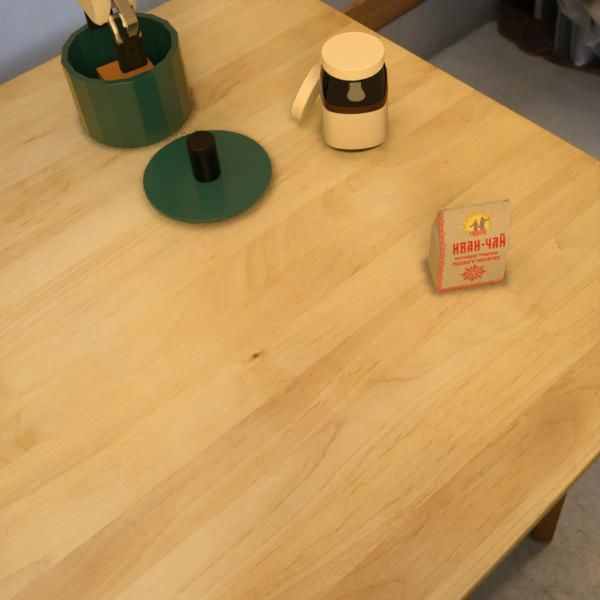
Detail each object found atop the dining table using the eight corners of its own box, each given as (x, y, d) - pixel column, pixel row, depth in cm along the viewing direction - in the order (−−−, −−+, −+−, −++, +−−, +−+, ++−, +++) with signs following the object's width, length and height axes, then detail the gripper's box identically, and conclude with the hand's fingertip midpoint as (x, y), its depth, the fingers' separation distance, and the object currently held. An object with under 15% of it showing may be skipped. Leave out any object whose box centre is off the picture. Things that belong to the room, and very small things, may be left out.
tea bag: (428, 264, 88) (433, 196, 80) (492, 254, 88) (504, 185, 80) (436, 292, 86) (443, 224, 78) (502, 282, 86) (515, 213, 78)
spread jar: (390, 160, 98) (391, 78, 89) (291, 165, 98) (283, 83, 89) (383, 93, 105) (384, 10, 96) (292, 98, 106) (284, 16, 96)
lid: (177, 247, 92) (167, 207, 87) (125, 168, 100) (112, 128, 95) (295, 192, 96) (291, 151, 91) (235, 120, 104) (229, 80, 99)
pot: (107, 163, 101) (86, 99, 93) (67, 102, 108) (44, 38, 101) (210, 120, 104) (197, 55, 97) (164, 63, 112) (149, -1, 104)
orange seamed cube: (120, 125, 104) (108, 86, 99) (108, 108, 106) (96, 68, 101) (165, 107, 106) (155, 67, 101) (152, 90, 108) (142, 50, 103)
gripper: (15, -122, 89) (61, 21, 103) (74, -49, 79) (116, 98, 93) (82, -143, 91) (119, 0, 105) (148, -74, 81) (179, 73, 95)
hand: (118, 46), depth 99 cm, fingers open, 9 cm apart
